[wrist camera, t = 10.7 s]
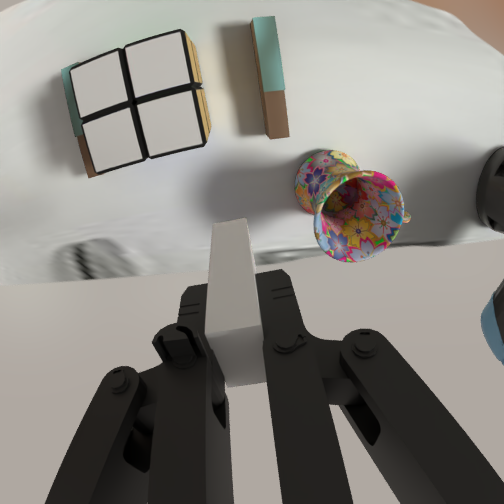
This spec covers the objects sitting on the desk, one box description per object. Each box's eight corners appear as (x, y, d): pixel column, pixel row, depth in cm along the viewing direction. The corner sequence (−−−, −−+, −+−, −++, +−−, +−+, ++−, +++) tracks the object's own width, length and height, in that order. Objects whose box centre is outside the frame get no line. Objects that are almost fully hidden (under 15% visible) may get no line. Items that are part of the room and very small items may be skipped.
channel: (269, 22, 24) (274, 16, 22) (284, 132, 31) (290, 137, 29) (74, 69, 24) (61, 69, 22) (97, 170, 31) (87, 179, 28)
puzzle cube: (127, 150, 31) (94, 177, 22) (107, 70, 25) (66, 68, 17) (212, 128, 31) (208, 146, 22) (195, 44, 25) (183, 26, 17)
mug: (283, 213, 37) (304, 260, 28) (296, 139, 32) (326, 163, 23) (368, 221, 38) (406, 265, 29) (386, 156, 34) (435, 186, 25)
